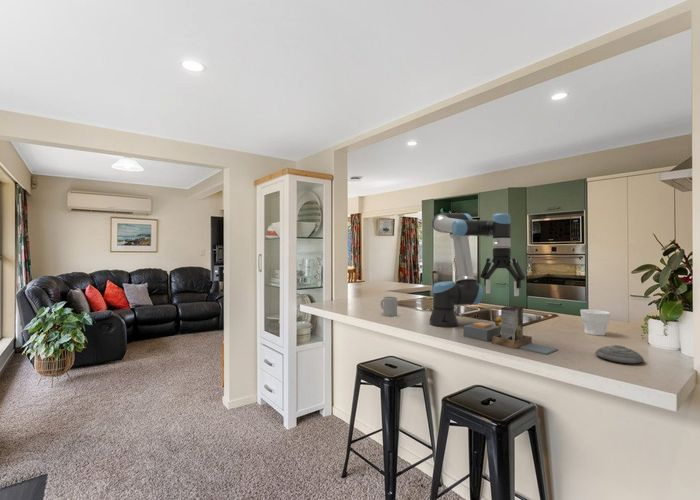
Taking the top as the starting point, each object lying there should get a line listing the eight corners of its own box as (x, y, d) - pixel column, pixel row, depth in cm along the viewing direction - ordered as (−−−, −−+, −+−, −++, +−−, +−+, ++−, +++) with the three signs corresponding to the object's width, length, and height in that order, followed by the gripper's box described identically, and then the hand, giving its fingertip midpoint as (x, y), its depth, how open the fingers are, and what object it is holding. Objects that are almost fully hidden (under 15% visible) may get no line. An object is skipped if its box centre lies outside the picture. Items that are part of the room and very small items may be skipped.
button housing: (463, 336, 171) (463, 325, 171) (477, 332, 179) (477, 322, 179) (486, 341, 162) (487, 330, 162) (500, 337, 170) (500, 326, 169)
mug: (399, 315, 222) (400, 297, 222) (390, 317, 216) (390, 299, 216) (385, 312, 231) (385, 295, 231) (376, 314, 225) (376, 296, 225)
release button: (472, 333, 171) (472, 323, 171) (479, 332, 175) (479, 321, 175) (484, 336, 166) (484, 325, 166) (491, 334, 170) (491, 324, 170)
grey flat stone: (591, 352, 147) (591, 338, 147) (635, 356, 142) (636, 342, 142) (600, 363, 134) (600, 348, 134) (650, 368, 128) (650, 353, 128)
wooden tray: (491, 343, 159) (492, 336, 159) (507, 338, 168) (507, 331, 168) (516, 348, 150) (516, 341, 150) (531, 343, 159) (531, 336, 159)
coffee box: (508, 340, 165) (508, 305, 164) (523, 342, 160) (523, 306, 160) (500, 343, 158) (500, 307, 158) (515, 346, 154) (515, 309, 153)
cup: (575, 329, 186) (576, 308, 186) (602, 331, 183) (603, 309, 183) (586, 335, 174) (586, 313, 173) (615, 337, 171) (615, 314, 171)
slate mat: (519, 348, 151) (519, 347, 151) (531, 344, 158) (531, 342, 158) (546, 354, 142) (546, 353, 142) (558, 349, 149) (558, 348, 149)
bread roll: (509, 331, 181) (509, 315, 181) (489, 328, 188) (490, 313, 188) (517, 327, 191) (517, 312, 191) (499, 324, 197) (499, 310, 197)
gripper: (472, 248, 170) (472, 292, 170) (524, 246, 150) (525, 297, 150) (481, 248, 175) (481, 291, 174) (533, 247, 155) (533, 296, 154)
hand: (501, 294), depth 162 cm, fingers open, 13 cm apart
